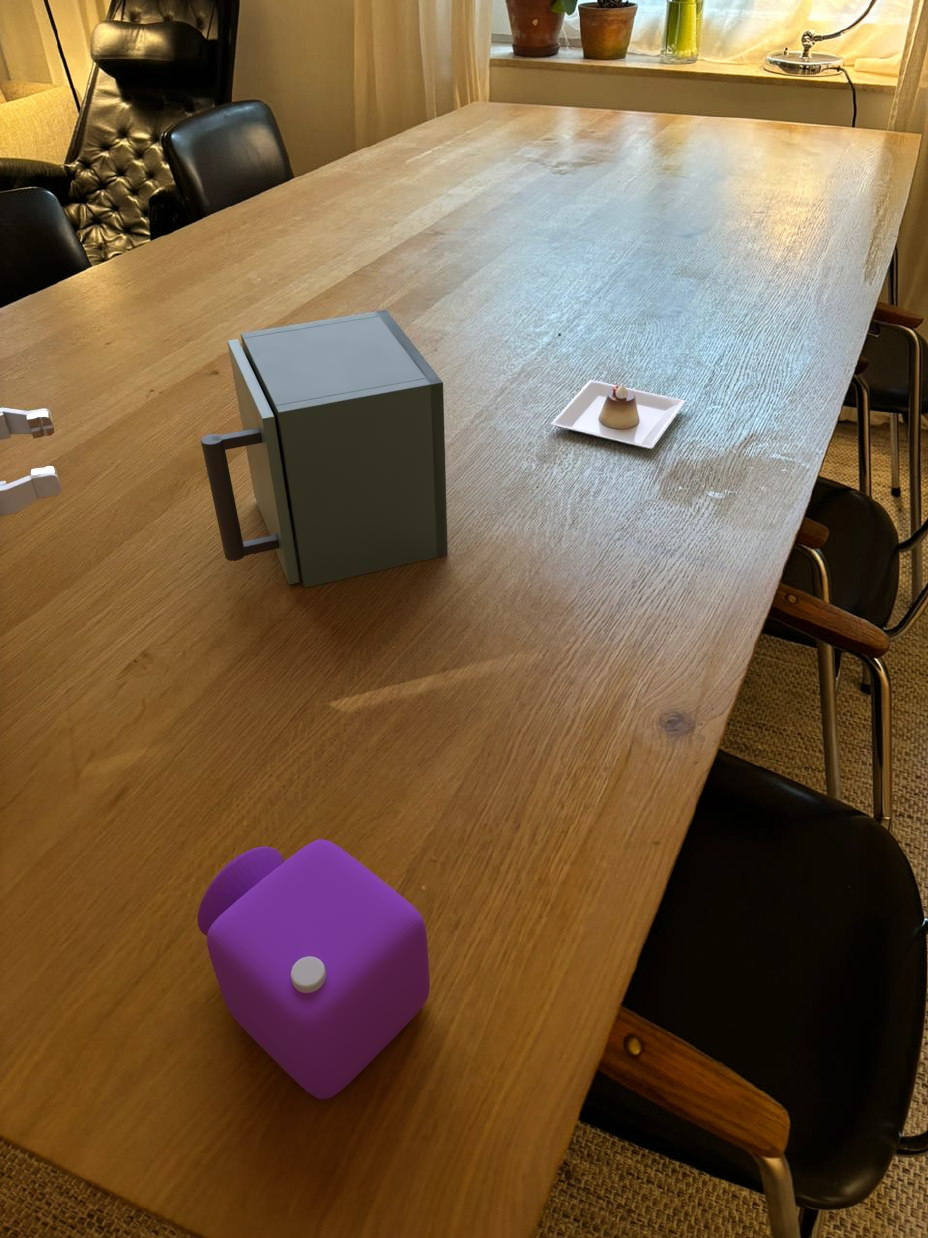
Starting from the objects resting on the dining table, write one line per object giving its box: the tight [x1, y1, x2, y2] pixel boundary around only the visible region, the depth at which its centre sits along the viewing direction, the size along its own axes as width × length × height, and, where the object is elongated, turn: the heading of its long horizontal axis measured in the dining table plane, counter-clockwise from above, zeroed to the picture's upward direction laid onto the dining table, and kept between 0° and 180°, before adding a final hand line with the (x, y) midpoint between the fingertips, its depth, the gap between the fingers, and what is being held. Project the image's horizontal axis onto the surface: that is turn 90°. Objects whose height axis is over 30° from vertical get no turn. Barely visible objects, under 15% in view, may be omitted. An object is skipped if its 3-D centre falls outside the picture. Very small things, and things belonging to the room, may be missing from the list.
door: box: [200, 338, 300, 585], centre depth 90 cm, size 6×16×17 cm, turn 21°
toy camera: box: [197, 838, 431, 1100], centre depth 57 cm, size 11×14×10 cm
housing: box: [240, 309, 449, 589], centre depth 93 cm, size 14×16×18 cm
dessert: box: [550, 379, 687, 450], centre depth 112 cm, size 12×12×5 cm
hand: (55, 448), depth 78 cm, fingers open, 8 cm apart
